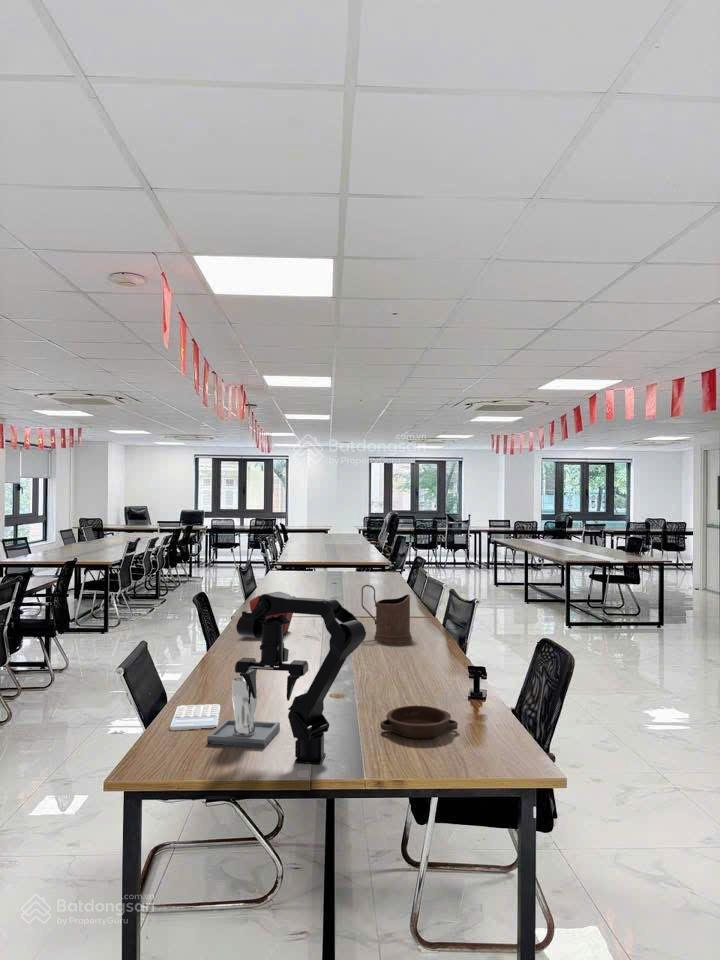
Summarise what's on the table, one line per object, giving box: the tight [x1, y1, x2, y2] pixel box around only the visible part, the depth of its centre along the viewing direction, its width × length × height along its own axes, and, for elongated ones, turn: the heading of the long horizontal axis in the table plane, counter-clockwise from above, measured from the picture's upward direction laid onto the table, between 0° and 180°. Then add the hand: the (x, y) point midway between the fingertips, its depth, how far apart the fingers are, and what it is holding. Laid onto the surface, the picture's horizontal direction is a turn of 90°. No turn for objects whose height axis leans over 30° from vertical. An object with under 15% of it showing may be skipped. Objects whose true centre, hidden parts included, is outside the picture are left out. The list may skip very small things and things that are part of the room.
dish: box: [379, 705, 459, 739], centre depth 196 cm, size 18×22×5 cm
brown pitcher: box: [361, 584, 413, 643], centre depth 323 cm, size 18×24×25 cm
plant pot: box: [249, 595, 296, 635], centre depth 334 cm, size 19×19×17 cm
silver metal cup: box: [231, 675, 258, 737], centre depth 191 cm, size 7×7×15 cm
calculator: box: [169, 703, 221, 731], centre depth 207 cm, size 13×20×2 cm, turn 9°
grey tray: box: [206, 718, 281, 749], centre depth 191 cm, size 16×14×2 cm
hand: (271, 699), depth 183 cm, fingers open, 9 cm apart
